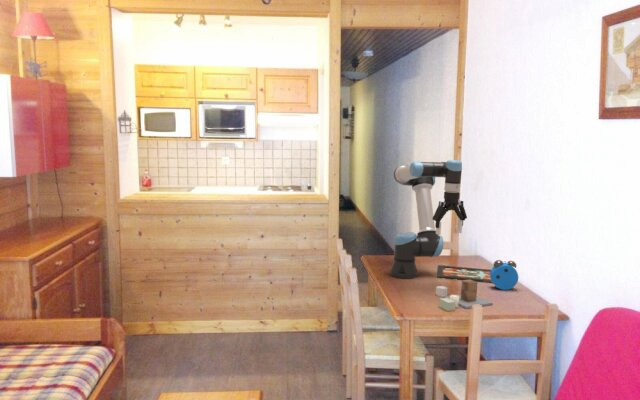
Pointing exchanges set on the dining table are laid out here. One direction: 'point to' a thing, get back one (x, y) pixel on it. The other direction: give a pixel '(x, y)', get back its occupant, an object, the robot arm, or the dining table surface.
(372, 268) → the dining table surface
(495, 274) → the alarm clock
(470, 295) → the walnut block
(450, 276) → the painting
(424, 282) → the dining table surface
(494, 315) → the dining table surface
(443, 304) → the sage block
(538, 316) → the dining table surface
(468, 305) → the grey mat
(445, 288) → the white cube
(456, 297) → the cream cylinder
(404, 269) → the robot arm
